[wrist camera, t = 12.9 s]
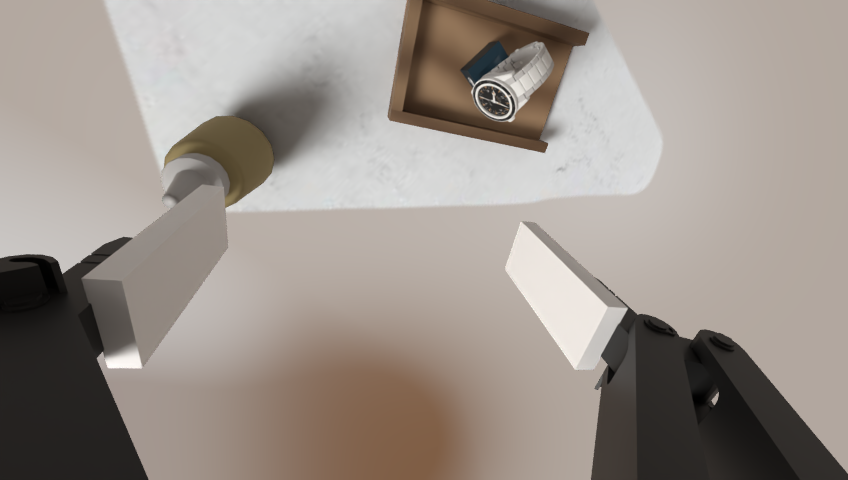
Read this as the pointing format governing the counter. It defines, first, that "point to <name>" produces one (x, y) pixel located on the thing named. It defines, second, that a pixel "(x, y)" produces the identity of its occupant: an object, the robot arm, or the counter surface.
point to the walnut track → (452, 49)
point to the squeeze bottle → (217, 160)
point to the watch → (506, 78)
